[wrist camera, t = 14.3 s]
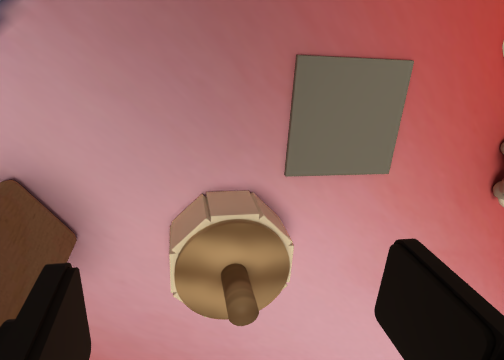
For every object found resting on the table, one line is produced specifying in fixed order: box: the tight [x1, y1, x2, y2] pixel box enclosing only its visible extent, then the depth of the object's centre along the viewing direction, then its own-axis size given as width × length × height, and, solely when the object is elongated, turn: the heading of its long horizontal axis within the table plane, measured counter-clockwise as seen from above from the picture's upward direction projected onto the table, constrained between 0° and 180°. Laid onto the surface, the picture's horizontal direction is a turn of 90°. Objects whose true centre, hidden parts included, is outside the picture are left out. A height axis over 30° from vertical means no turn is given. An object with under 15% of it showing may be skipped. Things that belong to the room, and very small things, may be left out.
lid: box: [174, 219, 290, 326], centre depth 37 cm, size 13×13×7 cm
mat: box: [284, 55, 414, 176], centre depth 42 cm, size 14×14×1 cm
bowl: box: [169, 190, 294, 317], centre depth 43 cm, size 14×14×6 cm
